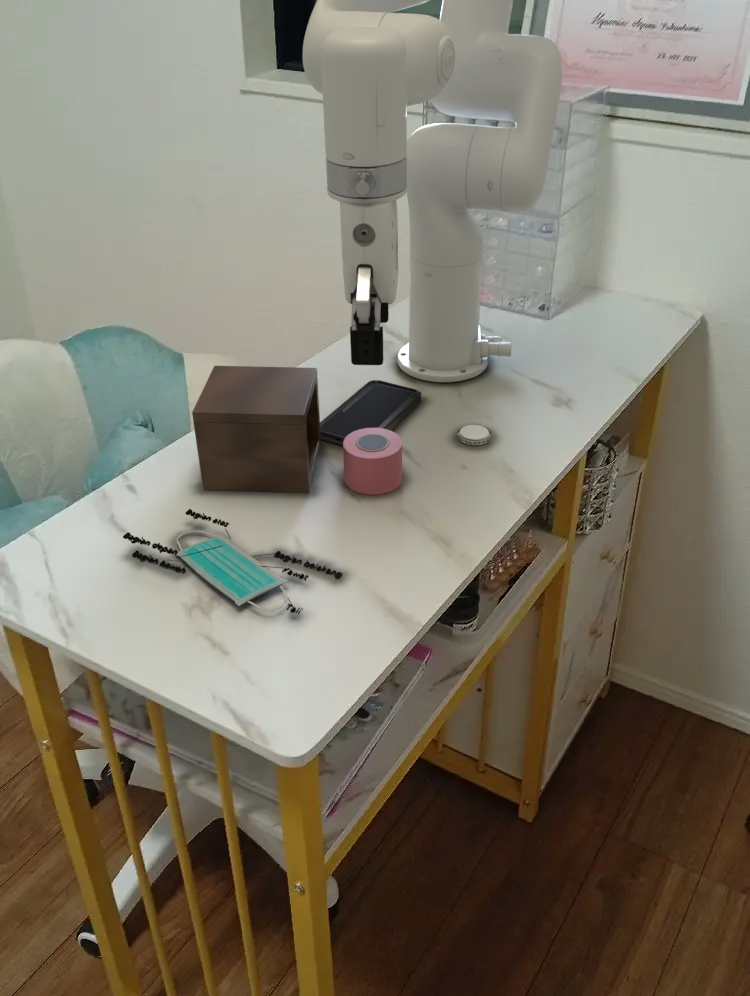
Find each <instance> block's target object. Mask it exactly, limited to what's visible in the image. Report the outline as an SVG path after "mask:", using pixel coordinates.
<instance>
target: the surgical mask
mask: <svg viewBox="0 0 750 996" xmlns="http://www.w3.org/2000/svg"><path fill="white" fill-rule="evenodd" d="M185 515H186V516H190V517H192V518H193V519H194V520H198V519H201V521H206V522H207V521H208V522H210V521H211V520H212V524H217V525H218V526H222V527H224V529H225V532H226V533H227V535H228V537H229V538H227V537H225V535H224V534H222V533H221V534H219V535H217V534H214V533H212V532H210V531H206V530H187V531H185V532H182V533H181V534H179V535H178V536H177V537H176V545H177V546H178V548H179V550H177V549H173V548H171V547H169V548H168V546H163V545H162V544H161V543H160V542H158V543H157V542H156V543H155V542H154V543H153V544H152V543H151V541H150V540H146V538H144V537H143V536H141V538H140V537H139V536H135V535H133V534H131V532H129V531H127V532H126V533H125V534H124V535H123V536H122V538H123V539H125V540H128V541H130V543H131V544H133V545H134V544H136V543H137V544H140V545H141V546H143V545H144V546H147V547H149V546H150V545H151V547H152V549H153V550H156V549H157V551H159V553H160V554H161V553H162V552H163V553H167V554H169V555H174V556H176V557H179V558H180V559H181V562H183V563H185V564H187V566H188V567H190V569H192V570H193V571H194V573H196V574H197V575H199V576H200V577H201V578H202V579H203V580H204V581H205V582H207V583H209V585H211V586H212V587H213V588H215V589H216V590H217V591H219V593H221V594H223V596H225V597H227V598H228V599H230V600H231V601H233V602H234V604H235V605H237V606H238V607H240V606H241V605H243V604H246V603H248V604H250V605H252V606H253V607H255V608H256V609H258V610H260V611H264V612H272V611H273V612H274V611H277V610H279V609H281V608H282V607H283V606H284V605H285V604H286V603H287V601H289V603H288V605H287V608H286V611H289V612H290V613H291V614H297V615H299V614H300V613H301V611H303V607H300V606H299V607H298V608H296V607H295V606H294V605H293V604H292V602H291V600H290V599H289V595H288V593H287V591H286V590H285V589H284V587H283V586H282V585H284V584H286V583H288V582H289V580H287V579H286V578H284V577H282V576H280V575H279V574H277V573H276V572H274V571H273V570H272V569H270V566H267V565H264V564H262V563H261V562H260V561H258V560H257V559H256V558H254V557H256V555H250V554H249V553H248V552H246V551H245V550H243V549H242V548H241V547H240V546H238V545H237V544H235V543H234V542H233V541H231V539H232V538H231V536H230V534H229V532H228V530H227V528H228V526H230V523H229V522H227V521H225V520H222V519H218V518H214V519H212V516H207V515H206V514H205V513H204V512H203V513H200V512H195V511H193V509H191V508H188V509H187V510H186V511H185ZM188 533H189V534H190V533H202V534H207V535H209V536H212V537H211V538H207V539H205V540H202V541H199V542H197V543H195V544H193V545H190V546H188V547H185V548H184V549H183V547H182V545H181V543H180V542H179V538H180V537H181V536H183V535H185V534H188ZM269 555H270V553H266V554H264V556H269ZM271 555H273V556H274V558H279V559H280V560H282V562H284V563H287V562H288V561H289V562H291V563H293V564H295V563H296V565H297V564H299V565H301V564H302V563H303V560H302V559H298V558H297V557H295V555H292V557H291V556H290V555H285V554H284V553H282V552H281V551H280V550H277V551H276V552H273V553H271ZM262 556H263V554H259V555H257V557H262ZM131 557H133V558H137V559H139V561H140V562H149V563H152V564H155V565H157V564H158V565H159V567H164V568H165V569H169V570H172V571H175V572H176V573H179V574H180V573H182V574H185V573H186V571H187V570H186V567H185V566H183V567H181V566H178V565H175V564H171V563H170V562H166V560H165V559H163V560H162V561H161V562H160V561H159V559H158V558H154V557H153V556H152V554H149V556H148V555H146V554H143V553H140V551H139V550H135V551H134V552H133V553H132V554H131ZM169 561H172V562H178V560H175V559H169ZM159 562H160V563H159ZM303 567H305V568H309V569H310V570H311V569H312V570H316V571H318V572H321V573H322V572H325V574H326V575H329V574H330V576H331V575H333V576H334V579H337V580H339V579H340V578H341V577H343V572H340V571H337V570H332V569H331V568H327V567H326V565H323V567H322V566H321V565H319V563H316V564H315V563H314V562H312V563H311V562H309V560H306V561H305V562H304V563H303ZM272 568H273V569H274V568H275V569H282V567H281V566H272ZM281 572H282V574H284V573H285V574H286V575H287V576H292V577H295V578H298V579H299V580H304V582H306V581H307V579H308V578H310V577H309V574H304V573H298V571H297V572H295V571H293V570H292V569H291V567H288V568H287V567H284V568H283V570H282V571H281ZM278 587H279V588H280V590H282V592H284V594H285V600H284V602H282V604H280V605H279V606H277V607H276V608H270V609H266V608H262V607H260V606H258V605H257V604H256V603H255V602H252V600H254V599H256V598H259V597H260V596H263V595H264V594H266V593H268V592H270V591H272V590H274V589H276V588H278Z"/></svg>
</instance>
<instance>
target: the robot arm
mask: <svg viewBox="0 0 750 996" xmlns="http://www.w3.org/2000/svg"><path fill="white" fill-rule="evenodd" d="M427 2H431V0H316V1H315V4H314V7H313V9H312V11H311V14H310V16H309V19H308V23H307V26H306V30H305V34H304V38H303V44H302V66H303V70H304V75H305V77H306V79H307V81H308V83H309V84H310V86H311V87H312V88H313V89H314V90H315V91H316V92H318V93H319V94H321V95H322V107H323V108H322V109H323V111H322V112H323V126H324V127H323V129H324V131H323V132H324V146H325V147H324V148H325V150H324V151H325V168H326V169H325V170H326V189H327V190H326V191H327V195H328V197H329V198H331V199H332V200H334V201H336V202H339V211H340V214H339V216H340V241H341V260H342V273H343V275H342V276H343V286H344V287H343V288H344V297H345V301H346V302H347V303H348V304H350V305H351V320H350V321H351V323H350V324H351V325H350V326H349V327H350V328H349V336H350V337H349V338H350V339H349V340H350V362H351V364H352V365H354V366H382V365H383V364H384V326H381V324H383V323H384V324H385V323H388V322H389V315H390V314H389V305H392V304H393V303H394V302H395V301H396V298H397V290H398V282H399V234H398V233H399V229H398V228H399V225H398V221H399V219H398V205H397V204H398V203H397V201H398V200H399V199H401V198H402V197H404V196H405V195H406V197H407V205H408V215H409V216H408V217H409V289H408V290H409V295H408V301H409V302H408V342H407V343H406V344H404V345H403V346H401V348H400V349H399V350H398V352H397V364H398V366H399V368H400V369H401V371H403V372H404V373H405V374H407V375H408V376H411V377H413V378H415V379H418V380H421V381H424V382H425V381H427V382H432V383H455V382H457V383H458V382H461V381H462V382H463V381H467V380H470V379H472V378H475V377H477V376H479V375H481V374H482V373H483V372H484V371H485V370H486V369H487V367H488V363H489V356H497V357H511V356H512V341H503V340H502V339H503V337H502V336H501V335H492V336H486V335H485V334H484V333H483V334H482V333H481V325H480V310H481V297H482V296H481V295H482V293H481V292H482V277H483V276H482V275H483V260H484V237H483V233H482V230H481V227H480V226H479V223H478V221H477V219H476V217H474V214H473V213H472V211H471V210H472V209H474V210H487V211H496V212H510V213H523V212H527V211H531V210H532V209H534V207H535V206H536V205H537V204H538V202H539V200H540V199H541V196H542V193H543V191H544V188H545V187H544V186H545V182H546V178H547V173H548V168H549V161H550V155H551V150H552V144H553V138H554V132H555V128H556V121H557V115H558V109H559V104H560V98H561V92H562V83H563V82H562V81H563V62H562V56H561V51H560V50H559V47H558V46H557V44H556V42H554V41H553V40H552V39H550V38H548V37H545V36H541V35H537V34H536V35H535V34H521V33H509V27H510V22H511V16H512V10H513V5H514V0H442V1H441V9H440V15H439V18H437V17H435V16H432V15H428V14H422V13H408V12H407V13H404V12H398V11H401V10H405V9H408V8H412V7H415V6H419V5H422V4H425V3H427ZM430 101H431V104H432V106H433V107H434V109H436V110H437V111H438V112H439V113H441V114H444V115H447V116H450V117H456V118H463V119H476V120H490V121H503V122H504V121H505V122H512V123H513V124H514V125H515V126H514V127H506V126H493V125H492V126H491V125H489V126H488V125H481V124H471V123H455V122H437V123H429V124H425V125H423V126H421V127H419V128H417V129H415V130H414V132H412V133H411V134H410V136H408V138H407V131H408V130H407V127H408V126H407V125H408V123H407V118H408V117H407V115H408V114H407V113H408V112H407V111H408V110H407V109H408V108H407V107H411V106H414V105H420V104H425V103H428V102H430ZM470 209H471V210H470Z"/></svg>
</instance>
